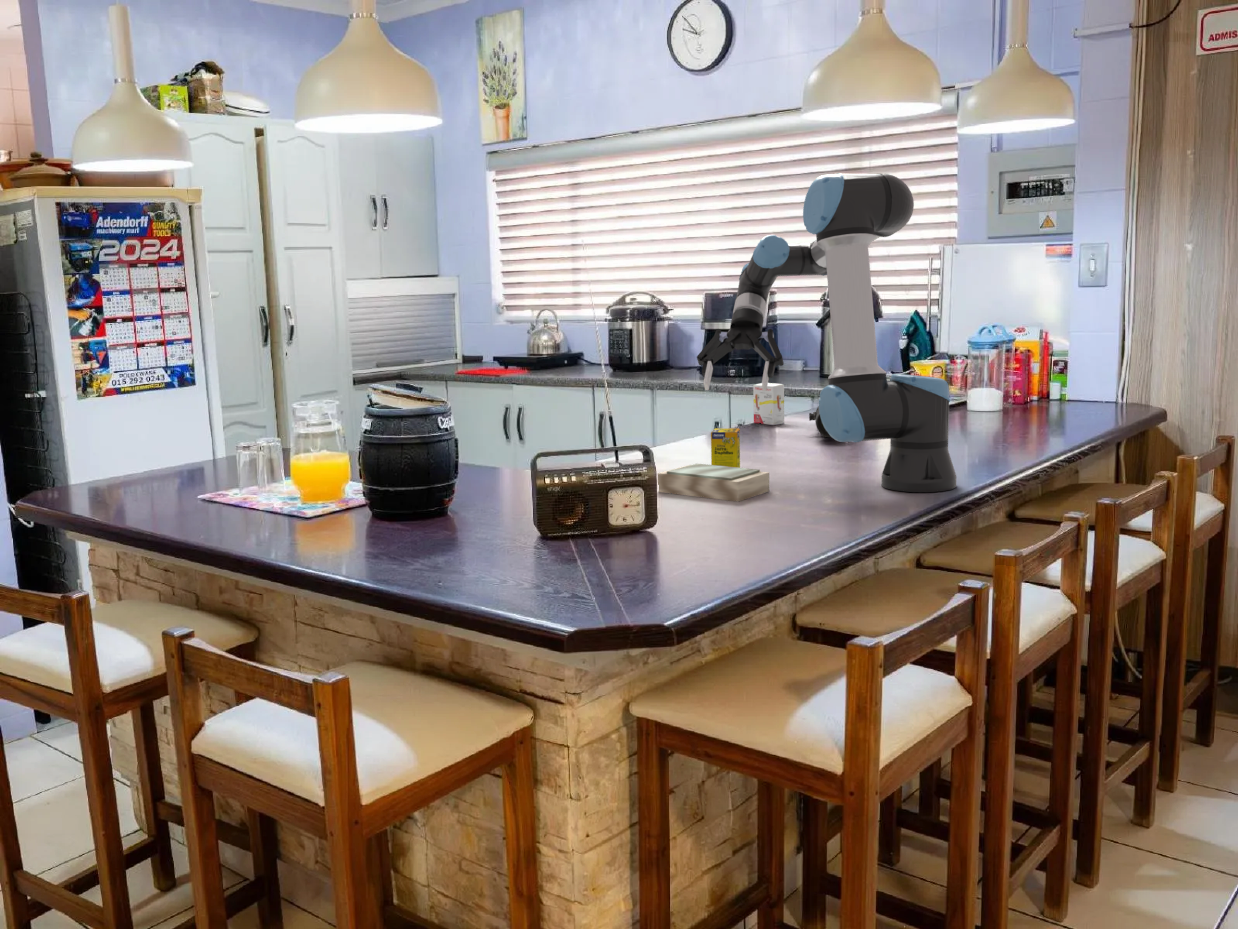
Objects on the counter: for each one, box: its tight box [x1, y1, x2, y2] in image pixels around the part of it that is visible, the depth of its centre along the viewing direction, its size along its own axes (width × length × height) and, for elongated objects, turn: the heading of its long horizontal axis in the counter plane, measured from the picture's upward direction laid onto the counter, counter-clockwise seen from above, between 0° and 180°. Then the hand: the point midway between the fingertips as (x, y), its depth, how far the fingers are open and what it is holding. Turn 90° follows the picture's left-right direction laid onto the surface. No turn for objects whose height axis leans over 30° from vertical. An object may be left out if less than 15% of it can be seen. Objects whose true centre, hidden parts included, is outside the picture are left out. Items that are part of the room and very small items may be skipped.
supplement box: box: [710, 427, 741, 468], centre depth 248 cm, size 6×6×11 cm
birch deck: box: [657, 463, 770, 502], centre depth 234 cm, size 20×12×4 cm, turn 51°
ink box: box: [752, 382, 785, 426], centre depth 334 cm, size 9×5×12 cm, turn 39°
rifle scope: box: [808, 405, 832, 439], centre depth 307 cm, size 10×26×10 cm, turn 172°
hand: (734, 387), depth 256 cm, fingers open, 13 cm apart
